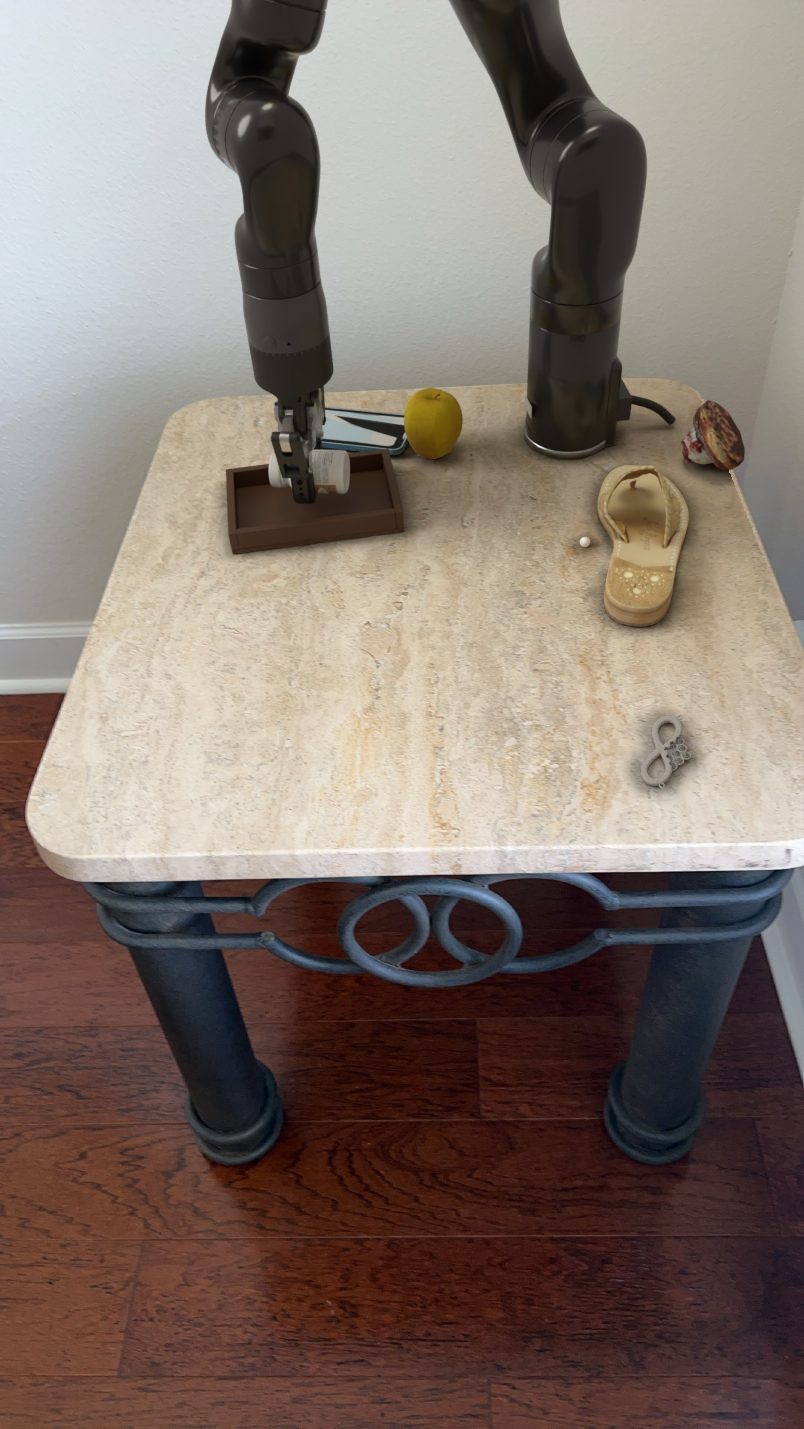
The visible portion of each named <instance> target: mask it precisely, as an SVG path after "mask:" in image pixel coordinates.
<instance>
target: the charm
mask: <svg viewBox="0 0 804 1429" xmlns="http://www.w3.org/2000/svg"><path fill="white" fill-rule="evenodd" d="M683 718H684V715H683V714H678V715H677V716H676V717H675V716H673V715H664V716H662V717H659V718H658V719H657V720H656V721H655V722H654V723H653V725H652V728H651V736H652V740H653V744H654V746H655V749H654V750H653V751H652V752H651V753H650V754H648V756H647V757H646V758H645V759H644V760H643V762H642V764H641V766H640V776H641V778H642V780H643V782H644V783H646V784H647V785H649V786H651V787H657V786H659V788H660V789H663V790H664V789H665V787H666V785H665V783H666V782H667V781H668V780H670V778H671V776H672V772H673V771H676V770H677V769H678V768H679V766H682V765H683V764H684V763H685V761H688V760H691V759H692V753H690V752H689V751H687V750H688V746H687V745H686V744H685V743H686V742H685V739H684V738H683V737H681V736H682V734H683V725H682V722H681V720H682V719H683ZM667 723H668V724H669V723H670V724H672V725H673V726H674V727H675V732H674V734H673V735H672V736H671V737H670V738H669V739H668V740H667V741H666V742H665V743H663V742H662V741H661V737H660V735H659V729H660V728H661V726H663V725H664V724H667ZM660 756H661V758H662V760H663V763H664V766H665V767H664V773H663V774H662V775H661V776H660V777H657V778H653V777H651V776H650V775H649V773H648V769H649V767H650V766H651V764H653V762H654V761H655V760H656V759H658V757H660ZM662 785H663V786H662Z"/></svg>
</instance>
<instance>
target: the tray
mask: <svg viewBox="0 0 804 1429" xmlns="http://www.w3.org/2000/svg"><path fill="white" fill-rule="evenodd" d="M348 455H349V460H350V481H349V488H348V491H347V492H346V493H345V494H316V499H315V502H314V503H313V504H300V503H296V502H295V501H294V499H293V492H292V488H291V486H288V487H287V488H274V487H272V486H271V484H270V480H269V463H265V464H264V463H263V464H256V465H248V466H241V467H232V468H226V469H225V484H226V486H225V488H226V512H227V535H228V540H229V544H230V548H231V554H232V555H237V554H245V553H252V552H253V553H254V552H260V551H268V550H275V549H282V548H290V547H296V546H297V547H298V546H305V545H312V544H313V545H314V544H320V543H328V542H335V541H343V540H350V539H351V540H353V539H357V538H366V537H374V536H382V535H389V534H397V533H404V532H405V517H404V509H403V506H402V501H401V500H402V499H401V497H400V492H399V487H398V484H397V478H396V474H395V470H394V466H393V462H392V458H391V455H390V453H389V449H382V450H373V451H365V452H361V451H356V452H349V453H348Z"/></svg>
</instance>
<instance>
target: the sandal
mask: <svg viewBox="0 0 804 1429" xmlns="http://www.w3.org/2000/svg"><path fill="white" fill-rule="evenodd" d="M596 505H597V506H596V507H597V509H596V510H597V516H598V518H599V520H600V522H601V524H602V526H603V527H604V529H605V530H606V532H607V534H608V535H609V537H610V539H611V542H612V553H611V556H610V561H609V563H608V564H609V565H608V569H607V573H606V579H605V584H604V591H603V607H604V610H605V612H606V614H607V615H608V617H610V618H611V619H612V620H613V621H615V622H616V623H618V624H621V625H625V626H630V627H637V628H638V627H639V628H641V627H643V628H644V627H649V626H653V625H656V624H657V623H659V622H660V621H661V620H663V618H664V617H666V615H667V613H668V612H669V609H670V606H671V602H672V599H673V598H672V596H673V592H674V584H675V579H676V578H675V576H676V569H677V566H678V563H679V560H680V555H681V551H682V547H683V544H684V541H685V538H686V534H687V532H688V527H689V523H690V522H689V521H690V520H689V519H690V514H689V507H688V503H687V501H686V500H685V498H684V495H683V494H682V493H681V491H680V490H679V489H678V487H677V486H676V484H674V483H673V482H672V481H671V480H670V479H669V478H667V477H666V476H665V475H664V474H663V473H662V471H660V469H659V468H658V467H657V466H655V465H637V464H624V465H620V466H617V467H615V468H613V469H612V470H611V471H609V473H608V474H607V475H606V476H605V478H604V479H603V481H602V483H601V485H600V489H599V492H598V497H597V504H596Z"/></svg>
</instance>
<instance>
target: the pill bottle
mask: <svg viewBox="0 0 804 1429" xmlns="http://www.w3.org/2000/svg"><path fill="white" fill-rule="evenodd" d="M348 454H349V453H348V452H347V450H343V449H323V450H312V465H313V477H314V485H315V492H316V494H345V493H346V492H347V491H348V488H349V481H350V460H349V455H348ZM268 460H269V462H268V464H269V480H270V484H271V486H272V487H274V488H287V487H288V486H291V479H290V478H282V476H281V472H280V469H279V466H278V462H277V459H276V455H275V452H274V453H272V454H271V455H270V457H269V459H268ZM291 488H292V486H291Z"/></svg>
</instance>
